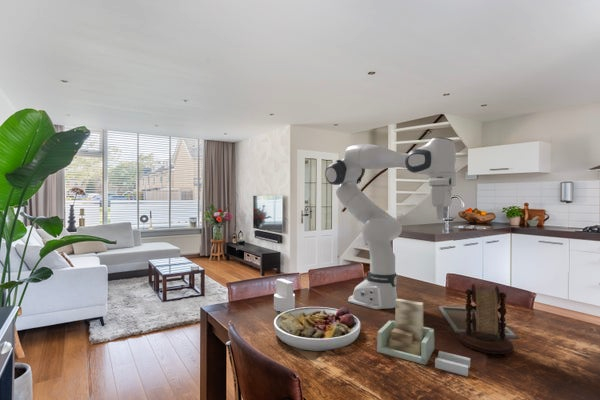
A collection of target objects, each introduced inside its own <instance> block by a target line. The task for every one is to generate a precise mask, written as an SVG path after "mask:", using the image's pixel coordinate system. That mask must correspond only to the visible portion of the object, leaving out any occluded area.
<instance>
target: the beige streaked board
mask: <svg viewBox="0 0 600 400" xmlns="http://www.w3.org/2000/svg"><path fill="white" fill-rule="evenodd" d="M394 310H395V313H394V315H395V316H394V319H395V320H394V321H395V328H396V329H400V330H405V331H409V332H414V341H417V342H422V340H423V327H424V302H419V301H414V300H408V299H402V298H397V300H395V309H394Z"/></svg>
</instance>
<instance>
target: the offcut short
mask: <svg viewBox="0 0 600 400" xmlns="http://www.w3.org/2000/svg"><path fill="white" fill-rule="evenodd" d="M391 340H395V341H400V342H404V343H408V344H412V342H413V341H414V332H409V331H405V330H400V329H396V328H394V329H393V330H392V331H391Z"/></svg>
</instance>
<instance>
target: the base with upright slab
mask: <svg viewBox="0 0 600 400" xmlns="http://www.w3.org/2000/svg"><path fill="white" fill-rule="evenodd" d="M275 287H276V288H275V292H274V294H273V310H274V309H275V310H276V311H275V310H274V311H275V312H277V311H280V312H279V313H283V312H285V311H288V310H292V309H296V302H295V301H296V294H295V293H294V282H293V281H291V280H287V279H284V278H277V279H276V280H275Z"/></svg>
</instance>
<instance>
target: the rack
mask: <svg viewBox="0 0 600 400" xmlns="http://www.w3.org/2000/svg"><path fill="white" fill-rule="evenodd" d="M394 328H395V320H393V319H389V320H388V321H387V322H386V323H385V324H384V325H383V326H382V327H380V329H379V330H378V331H377V332H376V335H377V337H376V338H377V341H376V344H377V345H376V346H377V347H376V349H377V350H376V351H377V353H380V354H384V355H387V356H392V357H394V358H398V359H402V360H406V361H410V362H413V363H417V364H421V365H425V366H426V365H427V364H428V362H429V359H430V357H431V356H432V355H433V354H432V353H433V352H434V351H435V328H431V327H427V326H423V340H422V342H421V355H420V356H417V355H413V354H409V353H405V352H401V351H398V350H394V349H390V338H391V331H392V330H393V329H394Z"/></svg>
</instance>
